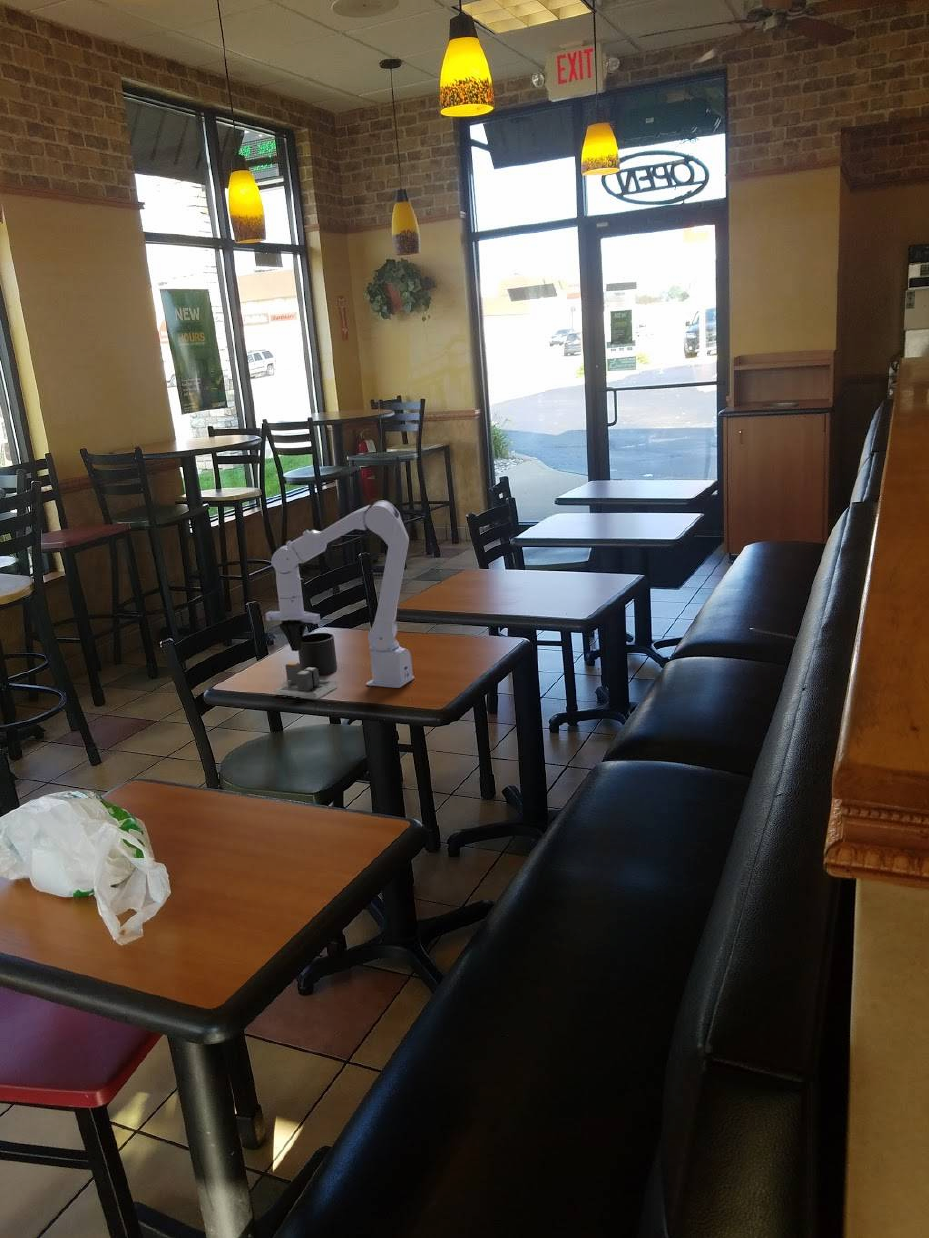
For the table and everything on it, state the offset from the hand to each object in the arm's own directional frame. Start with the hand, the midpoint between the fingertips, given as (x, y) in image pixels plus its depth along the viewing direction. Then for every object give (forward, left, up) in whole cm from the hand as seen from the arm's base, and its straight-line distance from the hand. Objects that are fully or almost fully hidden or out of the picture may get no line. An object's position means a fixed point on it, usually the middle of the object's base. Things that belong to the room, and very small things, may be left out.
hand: (296, 649), depth 234 cm
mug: (+3, -14, -10) cm, 17 cm away
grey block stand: (-3, +2, -10) cm, 11 cm away
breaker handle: (+2, 0, -8) cm, 8 cm away
